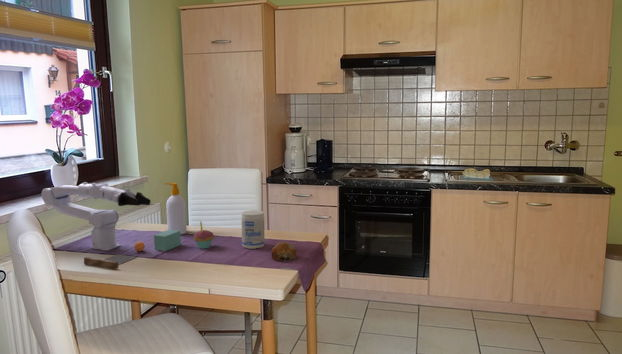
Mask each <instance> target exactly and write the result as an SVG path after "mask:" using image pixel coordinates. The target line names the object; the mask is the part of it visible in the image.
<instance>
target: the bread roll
mask: <svg viewBox="0 0 622 354" xmlns="http://www.w3.org/2000/svg"><path fill="white" fill-rule="evenodd" d="M271 249H272V250H271V251H270V252H271V253H270V254H271V255H270V256H271V259H272V260H273V261H276V262H289V261H292V260H294V259H296V258H297V249H296V247H295V246H294V245H293V244H292V243H289V242H286V241H282V242H278V243H277V244H275V245H274V247H272V248H271Z"/></svg>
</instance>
